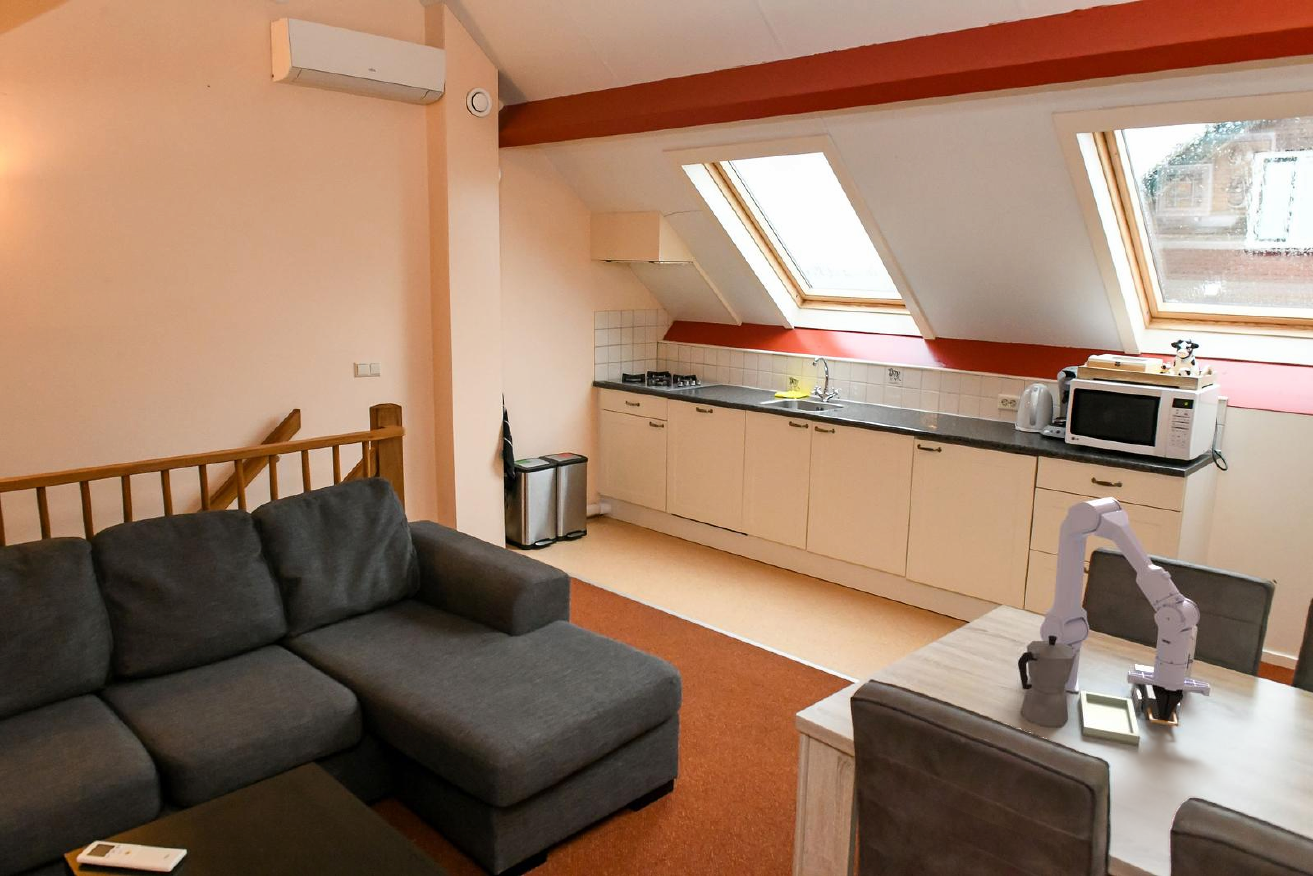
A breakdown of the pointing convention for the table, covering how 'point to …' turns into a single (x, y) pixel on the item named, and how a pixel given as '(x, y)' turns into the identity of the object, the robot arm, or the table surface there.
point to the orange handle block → (1155, 708)
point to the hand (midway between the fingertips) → (1162, 720)
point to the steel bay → (1139, 689)
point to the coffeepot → (1046, 681)
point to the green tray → (1108, 718)
